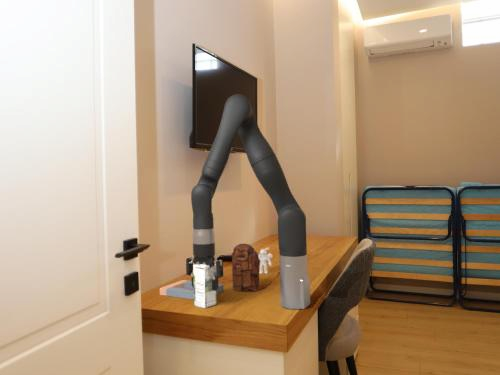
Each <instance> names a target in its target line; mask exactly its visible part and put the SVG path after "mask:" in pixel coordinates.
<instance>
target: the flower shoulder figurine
mask: <svg viewBox="0 0 500 375" xmlns="http://www.w3.org/2000/svg"><path fill="white" fill-rule="evenodd" d="M267 250H269V247H265V248H261V249H260V251H259V253H258V257H259V273H260V274H259V275H261V274H264V273H265V274H264V275H267V273H268V274H269V271H268V266H269V267H272V266H273V265H272V261H271V259H273V256H274V255H273V254H272V253H270V252H269V253H268V252H267Z"/></svg>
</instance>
